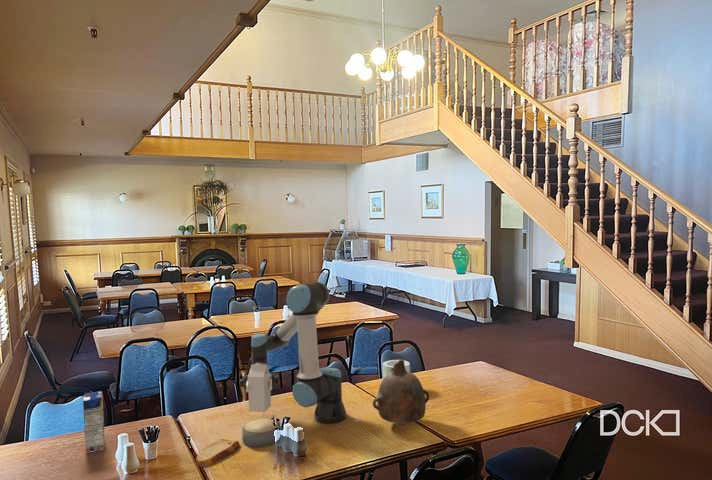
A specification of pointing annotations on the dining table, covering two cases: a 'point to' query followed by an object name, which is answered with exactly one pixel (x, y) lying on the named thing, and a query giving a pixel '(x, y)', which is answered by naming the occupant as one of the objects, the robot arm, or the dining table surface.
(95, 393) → the beverage box
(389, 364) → the container
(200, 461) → the slice of bread
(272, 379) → the robot arm
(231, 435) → the dining table surface
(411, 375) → the jug
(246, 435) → the podium
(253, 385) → the milk carton
